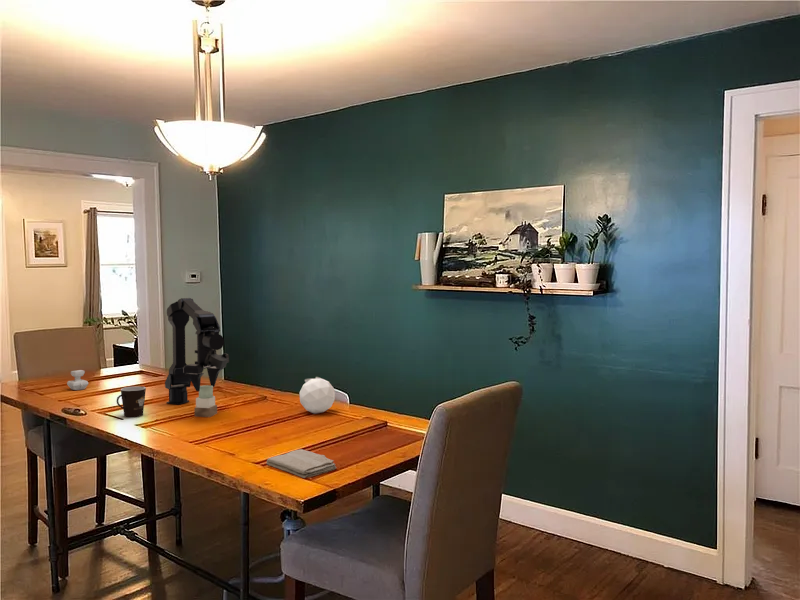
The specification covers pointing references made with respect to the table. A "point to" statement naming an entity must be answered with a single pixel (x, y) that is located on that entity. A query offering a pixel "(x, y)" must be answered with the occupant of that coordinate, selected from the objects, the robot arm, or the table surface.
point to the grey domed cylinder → (206, 391)
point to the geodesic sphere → (317, 395)
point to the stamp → (77, 380)
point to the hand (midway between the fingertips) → (205, 389)
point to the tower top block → (205, 402)
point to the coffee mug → (132, 401)
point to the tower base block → (205, 411)
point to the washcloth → (302, 463)
